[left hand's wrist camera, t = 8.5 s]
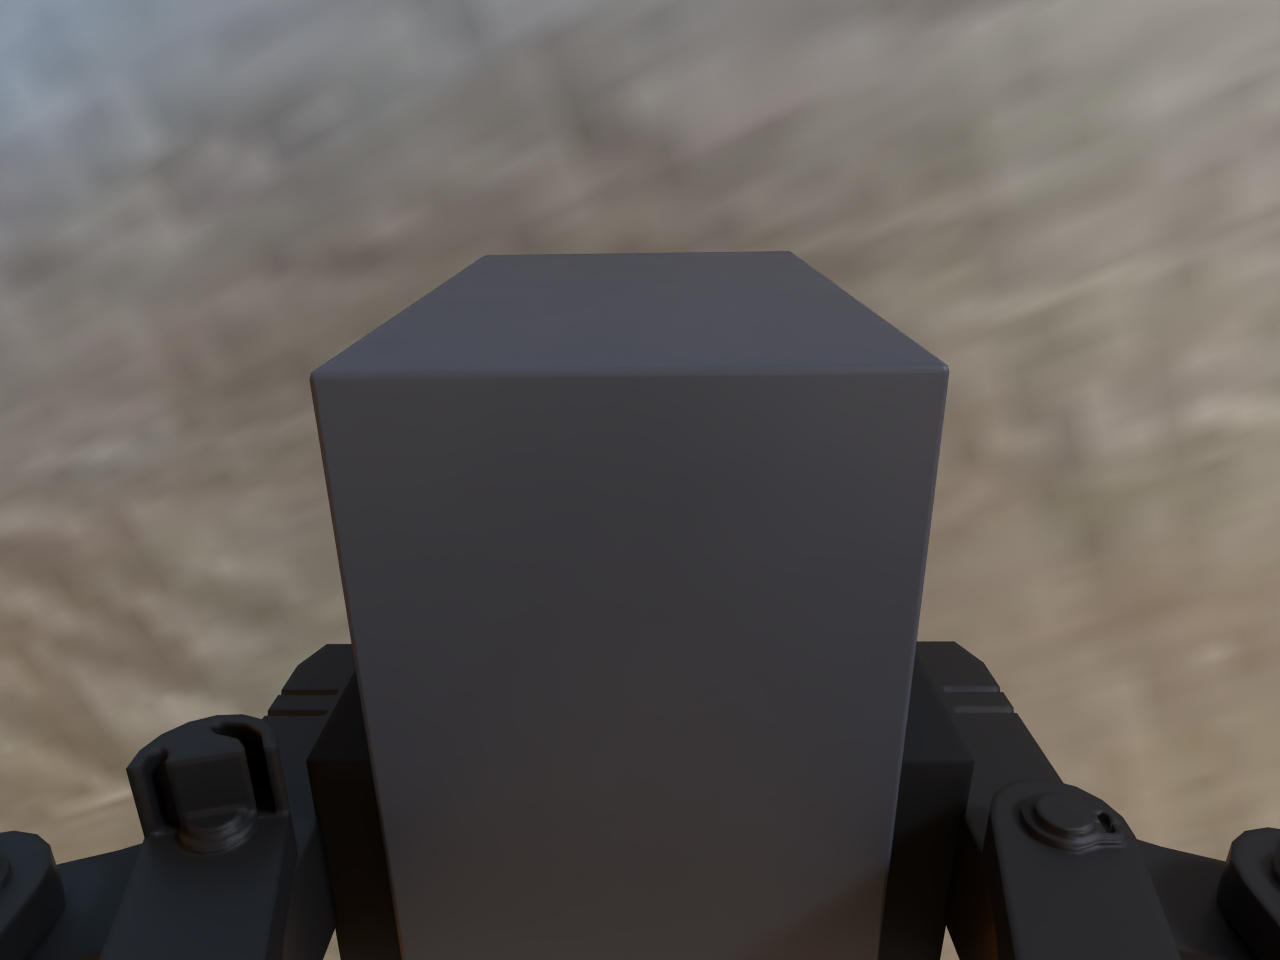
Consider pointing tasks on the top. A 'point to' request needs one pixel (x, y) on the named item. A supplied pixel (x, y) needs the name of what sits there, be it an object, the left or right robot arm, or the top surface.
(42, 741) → the top surface
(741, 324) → the bar
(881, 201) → the top surface
